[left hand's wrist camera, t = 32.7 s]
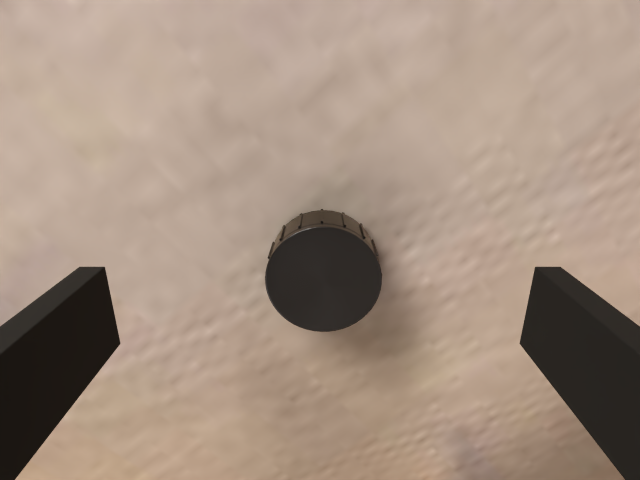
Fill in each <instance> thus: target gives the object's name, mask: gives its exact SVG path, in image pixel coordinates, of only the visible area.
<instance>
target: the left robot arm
mask: <svg viewBox="0 0 640 480" xmlns="http://www.w3.org/2000/svg"><path fill="white" fill-rule="evenodd" d="M119 345H120V340H119V335H118V330H117V325H116V320H115V315H114V310H113V305H112V300H111V295H110V290H109V285H108V280H107V276H106V271H105V267H79V268H78V269H76V270H75V271H74V272H72V273H71V274H70V275H68V276H67V277H66V278H64V279H63V280H62V281H60V282H59V283H58V284H56V285H55V286H54V287H52V288H51V289H50V290H48V291H47V292H46V293H44V294H43V295H42V296H40V297H39V298H38V299H36V300H35V301H34V302H32V303H31V304H30V305H28V306H27V307H26V308H24V309H23V310H22V311H20V312H19V313H18V314H16V315H15V316H14V317H12V318H11V319H10V320H8V321H7V322H6V323H4V324H3V325H2V326H0V480H15V479H16V477H17V476H18V475H19V474H20V472H21V471H22V470H23V468H24V467H25V466H26V465H27V463H28V462H29V461H30V459H31V458H32V457H33V455H34V454H35V453H36V452H37V450H38V449H39V448H40V446H41V445H42V444H43V443H44V441H45V440H46V439H47V437H48V436H49V435H50V434H51V432H52V431H53V430H54V428H55V427H56V426H57V425H58V423H59V422H60V421H61V419H62V418H63V417H64V416H65V414H66V413H67V412H68V410H69V409H70V408H71V406H72V405H73V404H74V403H75V401H76V400H77V399H78V397H79V396H80V395H81V394H82V392H83V391H84V390H85V388H86V387H87V386H88V385H89V383H90V382H91V381H92V379H93V378H94V377H95V376H96V374H97V373H98V372H99V370H100V369H101V368H102V367H103V365H104V364H105V363H106V361H107V360H108V359H109V357H110V356H111V355H112V354H113V352H114V351H115V350H116V348H117V347H118V346H119ZM520 345H521V346H522V347H523V348H524V350H525V351H526V352H527V354H528V355H529V356H530V357H531V359H532V360H533V361H534V363H535V364H536V365H537V367H538V368H539V369H540V370H541V372H542V373H543V374H544V376H545V377H546V378H547V379H548V381H549V382H550V383H551V385H552V386H553V387H554V388H555V390H556V391H557V392H558V394H559V395H560V396H561V397H562V399H563V400H564V401H565V403H566V404H567V405H568V406H569V408H570V409H571V410H572V412H573V413H574V414H575V416H576V417H577V418H578V419H579V421H580V422H581V423H582V425H583V426H584V427H585V428H586V430H587V431H588V432H589V434H590V435H591V436H592V437H593V439H594V440H595V441H596V443H597V444H598V445H599V446H600V448H601V449H602V450H603V452H604V453H605V454H606V455H607V457H608V458H609V459H610V461H611V462H612V463H613V465H614V466H615V467H616V468H617V470H618V471H619V472H620V474H621V475H622V476H623V477H624V479H625V480H640V326H638V325H637V324H636V323H634V322H633V321H632V320H630V319H629V318H628V317H626V316H625V315H624V314H622V313H621V312H620V311H618V310H617V309H616V308H614V307H613V306H612V305H610V304H609V303H608V302H606V301H605V300H604V299H602V298H601V297H600V296H598V295H597V294H596V293H594V292H593V291H592V290H590V289H589V288H588V287H586V286H585V285H584V284H582V283H581V282H580V281H578V280H577V279H576V278H574V277H573V276H572V275H570V274H569V273H568V272H566V271H565V270H564V269H562V268H561V267H535V271H534V276H533V280H532V285H531V290H530V295H529V300H528V305H527V310H526V315H525V320H524V325H523V330H522V335H521V340H520Z"/></svg>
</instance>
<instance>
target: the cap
mask: <svg viewBox="0 0 640 480" xmlns="http://www.w3.org/2000/svg"><path fill="white" fill-rule="evenodd" d="M377 256H378V253H377V250H376V247H375V244H374V241H373V239H372V240H371V238H370V236H369V235H368V233H367V232H366V230H365V229H364V228H363V226H362V224H361V223H360V224H359V223H358V222H357V221H355V220H354V219H352V218H351V217H349V216H347V215H345V214H344V213H343V212H342V213H339V212H334V211H327V210H323V209H321V210H320V211H312V212H308V213H305V214H302V213H301V214H300V216H298V217H296V218H295V219H293V220H291V221H290V222H289V223H288V224H287V225H286V226H285V225H284V226H283V227H282V230H281V231H280V233H279V234H278V236H277V238H276V240H275V242H273V243H272V246H271V249H270V252H269V256H268V259H269V261H268V264H267V269H266V275H265V283H266V289H267V293H268V296H269V299H270V301H271V302H272V304H273V306H274V307H275V309H276V310H277V311H278V312H279V313H280V314H281V315H282V316H283V317H284V318H285V319H286V320H288V321H289V322H291V323H292V324H294V325H296V326H299V327H301V328H304V329H307V330H312V331H320V332H327V331H336V330H340V329H343V328H346V327H349V326H351V325H353V324H355V323H356V322H358V321H359V320H361V319H362V318H363V317H364V316H365V315H366V314H367V313H368V312H369V311H370V310H371V309H372V307H373V306H374V304H375V303H376V301H377V299H378V296H379V293H380V290H381V284H382V273H381V268H380V265H379V261H378V258H377Z"/></svg>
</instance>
